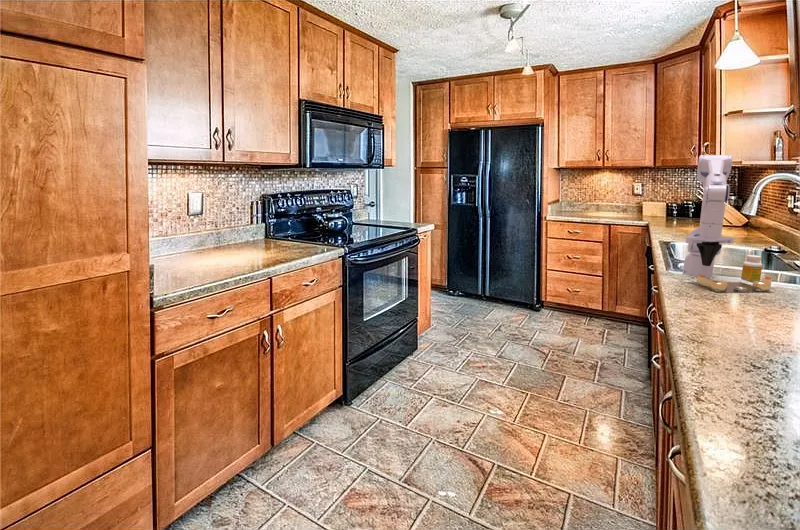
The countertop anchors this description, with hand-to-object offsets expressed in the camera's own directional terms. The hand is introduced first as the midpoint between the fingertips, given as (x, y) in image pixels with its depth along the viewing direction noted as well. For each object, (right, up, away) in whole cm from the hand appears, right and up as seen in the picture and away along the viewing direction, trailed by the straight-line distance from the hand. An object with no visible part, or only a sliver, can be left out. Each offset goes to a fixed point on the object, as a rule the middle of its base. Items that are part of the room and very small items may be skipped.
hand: (706, 265), depth 154 cm
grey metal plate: (+8, -9, +1) cm, 12 cm away
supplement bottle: (+24, -6, +13) cm, 28 cm away
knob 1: (+1, -7, -1) cm, 7 cm away
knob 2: (+18, -7, -1) cm, 19 cm away
